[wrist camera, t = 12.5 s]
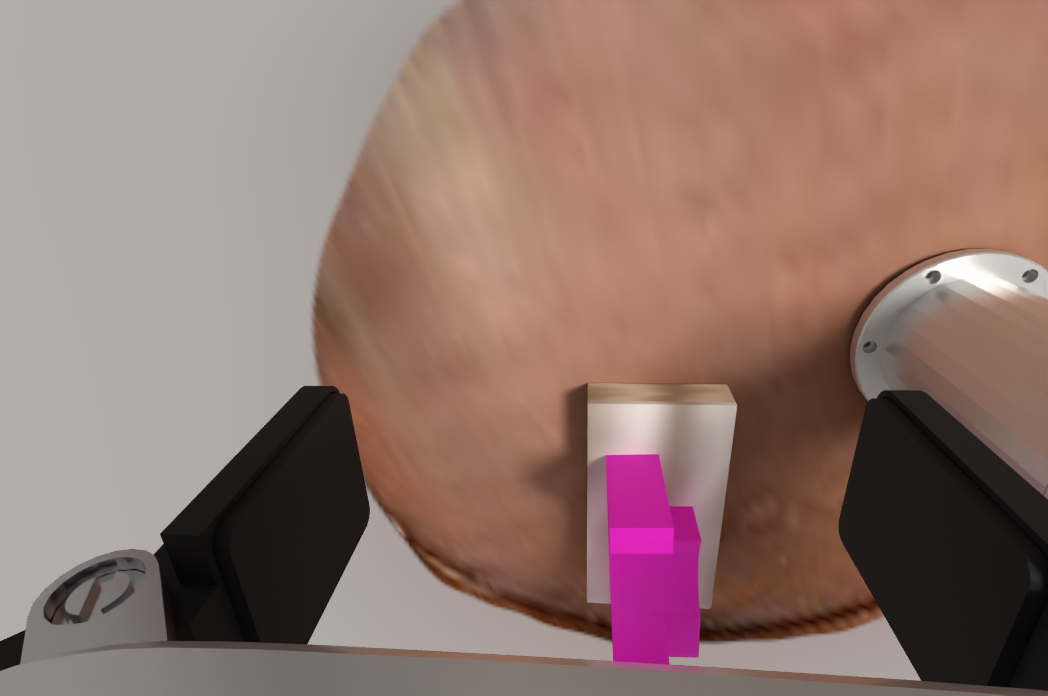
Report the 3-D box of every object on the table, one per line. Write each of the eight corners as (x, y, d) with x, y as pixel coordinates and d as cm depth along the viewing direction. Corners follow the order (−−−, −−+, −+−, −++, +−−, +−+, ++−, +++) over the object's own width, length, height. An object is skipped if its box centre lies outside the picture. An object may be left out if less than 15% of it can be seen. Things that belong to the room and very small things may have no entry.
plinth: (727, 384, 40) (737, 405, 38) (703, 579, 48) (710, 608, 45) (587, 383, 41) (587, 403, 39) (586, 574, 49) (586, 602, 47)
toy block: (688, 607, 46) (706, 696, 39) (610, 605, 46) (614, 693, 40) (694, 453, 40) (717, 527, 33) (605, 454, 40) (609, 527, 34)
